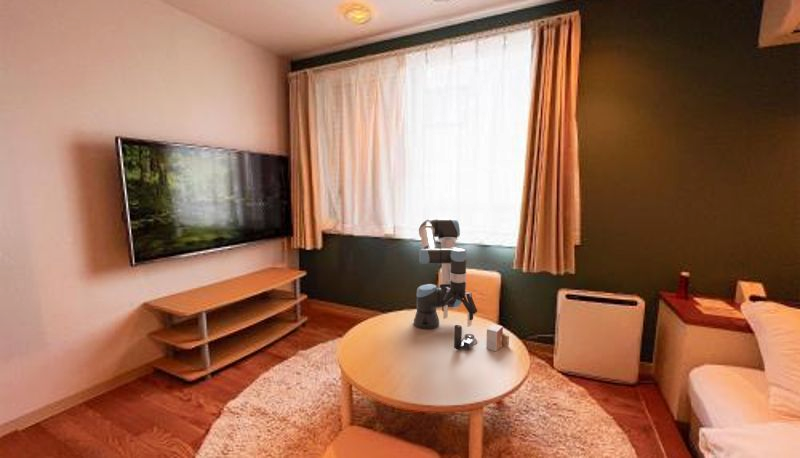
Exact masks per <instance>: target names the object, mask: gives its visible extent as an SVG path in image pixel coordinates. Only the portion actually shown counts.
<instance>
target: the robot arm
mask: <svg viewBox="0 0 800 458" xmlns="http://www.w3.org/2000/svg"><path fill="white" fill-rule="evenodd" d="M460 232H461V230H460V224H459V220H458V219H457V218H455V217H454V218H453V217H452V218H451V217H442V218H440V217H438V218H437V217H434V218H428V219H426V220H424V221H423V222H422V223H421V224H420V226H419V227H418V235H419V236H420V238H421V247H422V248H421V249H419V251H418V252H419V253H418V255H419V256H418V258H419V260H418V261H419V263H420V264H427V265H428V264H429V265H431V264H433V265H434V264H435V265H436V264H441V283H439V286H438V287H437V285H436V284H434V283H433V284H432V283H427V284H422V285H420V286H418V287H417V289H416V313H415V316H414V318H413V325H414V326H415V327H416V328H418V329H422V330H432V329H437V328H438V327H439V326H440V318H439V315H438V313H437V308H438V309H439V308H440V309H441V308H442V312H443V314H442V317H443V319H444V320H445V319H447V318H448V315H449V313H448V311H449V310H448V309H449V308H450V309H451V308H452V309H454V308H459V307H461V305H462V304H463V306H464V307H465V309H466V310H467V312H468V313H467V323H466V324H467V327H468V328H469V327H470V326H472V321H473V319H474V315H475V314H476V313H478V310H477V306H476V304H475V301H474V299H473V296H472V294H473V293H472V292H467V291H466V287H467V282H466V281H467V259H468V256H467V250H466V249H465V248H461V247H460V248H459V247H456V241H457V240H458V238H460V234H461V233H460ZM436 238H437V241H439V242H440V248H437V245H436V244H437V243H436Z"/></svg>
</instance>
